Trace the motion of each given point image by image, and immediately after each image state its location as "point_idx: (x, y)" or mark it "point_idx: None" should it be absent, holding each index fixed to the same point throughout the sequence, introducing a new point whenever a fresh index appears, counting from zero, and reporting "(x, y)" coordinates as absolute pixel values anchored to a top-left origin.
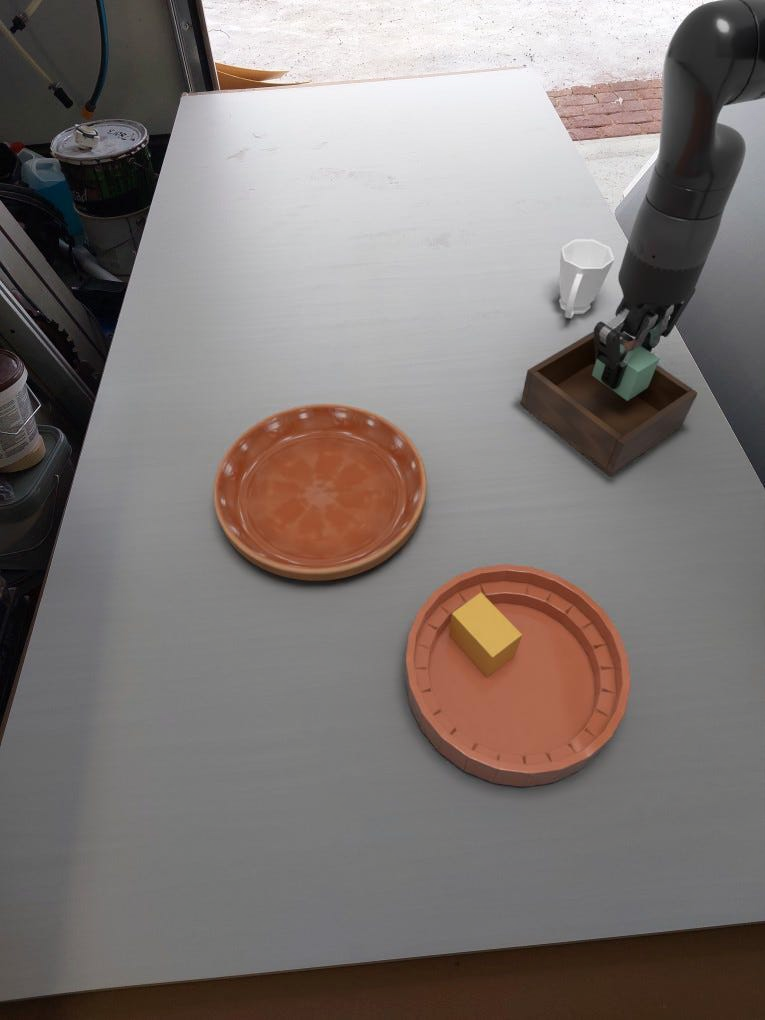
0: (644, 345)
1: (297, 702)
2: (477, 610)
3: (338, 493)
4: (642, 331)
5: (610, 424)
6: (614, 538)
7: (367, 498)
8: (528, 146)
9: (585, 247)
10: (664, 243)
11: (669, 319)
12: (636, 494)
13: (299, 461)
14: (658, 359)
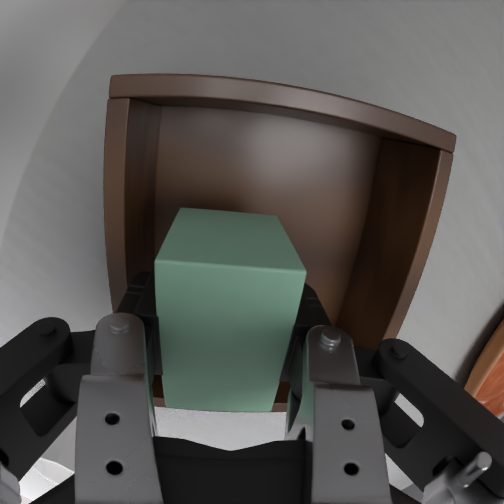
0: (152, 343)
1: None
2: None
3: None
4: (387, 490)
5: (280, 205)
6: (471, 69)
7: None
8: (23, 476)
9: (52, 471)
10: None
11: (26, 389)
12: (391, 66)
13: (500, 380)
14: (164, 259)
